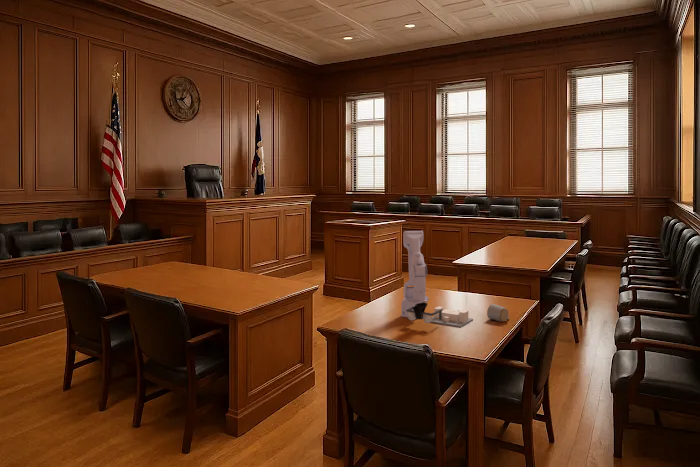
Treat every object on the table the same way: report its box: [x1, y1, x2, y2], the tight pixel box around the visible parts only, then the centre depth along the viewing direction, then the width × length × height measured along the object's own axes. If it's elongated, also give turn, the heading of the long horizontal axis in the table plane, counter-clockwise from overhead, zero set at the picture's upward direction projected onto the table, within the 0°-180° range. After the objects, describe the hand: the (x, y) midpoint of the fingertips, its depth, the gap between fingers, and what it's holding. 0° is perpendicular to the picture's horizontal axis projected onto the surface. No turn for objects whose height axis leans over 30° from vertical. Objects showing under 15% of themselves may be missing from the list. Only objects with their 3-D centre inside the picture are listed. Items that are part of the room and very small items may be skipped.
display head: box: [430, 305, 474, 329], centre depth 252 cm, size 15×18×6 cm
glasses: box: [406, 307, 442, 324], centre depth 245 cm, size 10×14×5 cm
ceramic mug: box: [486, 303, 510, 323], centre depth 253 cm, size 11×8×8 cm
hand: (419, 318), depth 241 cm, fingers closed on glasses
